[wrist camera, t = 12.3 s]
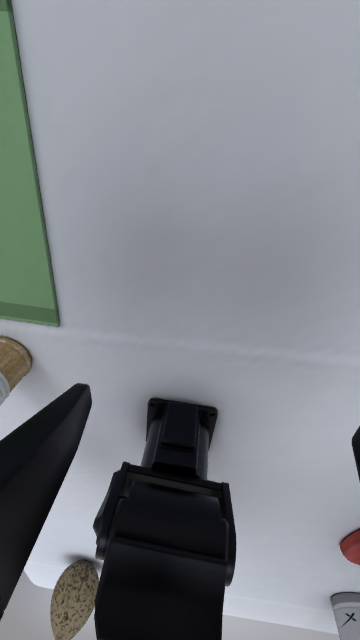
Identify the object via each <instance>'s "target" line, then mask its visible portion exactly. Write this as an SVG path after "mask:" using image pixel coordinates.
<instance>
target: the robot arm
mask: <svg viewBox="0 0 360 640" xmlns="http://www.w3.org/2000/svg"><path fill="white" fill-rule="evenodd" d="M153 403H154V404H153ZM91 405H92V398H91V392H90V386H89V385H87V384H81V383H77V384H75V385H74V386H72V387H71V388H70V389H68V390H67V391H66V392H64V393H63V394H62V395H60V396H59V397H58V398H56V399H55V400H54V401H52V402H51V403H50V404H49V405H47V406H46V407H45V408H43V409H42V410H41V411H39V412H38V413H37V414H35V415H34V416H33V417H31V418H30V419H29V420H27V421H26V422H25V423H23V424H22V425H21V426H19V427H18V428H17V429H15V430H14V431H13V432H11V433H10V434H9V435H7V436H6V437H5V438H3V439H2V440H1V441H0V620H1V618H2V616H3V614H4V610H5V609H6V607H7V605H8V602H9V600H10V598H11V595H12V593H13V591H14V589H15V587H16V585H17V582H18V580H19V578H20V576H21V573H22V571H23V569H24V567H25V565H26V562H27V560H28V558H29V556H30V554H31V551H32V549H33V547H34V545H35V543H36V540H37V538H38V536H39V534H40V531H41V529H42V527H43V525H44V523H45V520H46V518H47V516H48V514H49V512H50V509H51V507H52V505H53V503H54V500H55V498H56V496H57V494H58V492H59V489H60V487H61V485H62V483H63V481H64V478H65V476H66V474H67V472H68V469H69V467H70V465H71V463H72V461H73V458H74V456H75V454H76V451H77V449H78V446H79V443H80V440H81V437H82V434H83V431H84V428H85V425H86V422H87V418H88V415H89V412H90V409H91ZM216 419H217V409H216V408H213V407H208V406H201V405H195V404H188V403H182V402H176V401H169V400H163V399H156V398H151V399H150V400H149V402H148V413H147V433H146V446H145V450H144V454H143V459H142V463H141V466H137V465H132V464H130V463H128V462H123V464H122V467H121V470H118V471H117V472H114V473H113V477H112V480H111V483H110V486H109V489H108V492H107V494H106V497H105V499H104V501H103V503H102V505H101V507H100V509H99V512H98V514H97V516H96V518H95V521H94V524H93V529H94V531H95V534H96V536H97V540H96V545H97V549H96V559H100V560H104V564H103V568H102V572H101V576H100V581H99V585H98V589H97V593H96V597H95V615H94V619H95V628H96V637H97V640H221V639H222V638H221V637H222V612H223V602H224V592H225V586H227V587H228V586H230V584H231V582H232V578H233V574H234V569H235V561H236V532H235V524H234V517H233V510H232V503H231V497H230V490H229V484H228V483H224V482H222V483H218V482H213V481H208V480H207V469H208V451H209V448H210V443H211V439H212V435H213V431H214V427H215V423H216ZM352 447H353V452H354V457H355V462H356V466H357V471H358V476H359V481H360V426H359V428H358V429H357V431H356V432H355V434H354V436H353V438H352Z"/></svg>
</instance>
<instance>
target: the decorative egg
mask: <svg viewBox="0 0 360 640" xmlns="http://www.w3.org/2000/svg"><path fill="white" fill-rule="evenodd" d="M98 585H99V578H98V574H97V571H96V569H95V567H94V566H93V565H92V564H91V563H89V562H88V561H83V560H82V561H77V562H74V563H73V564H71V565H70V566H69V567H67V568H66V569H65V571H64V572H63V573H62V575H61V576H60V578H59V580H58V581H57V583H56V586H55V588H54V592H53V595H52V600H51V611H50V615H51V616H50V617H51V626H52V631H53V635H54V637H55V640H70V639H72V638H73V637H74V636H75V635H76V633H78V632H79V631H80V629H81V628H82V627H83V626H84V624H85V623H86V621H87V620H88V618H89V616H90V615H91V613H92V611H93V609H94V606H95V597H96V593H97V589H98Z"/></svg>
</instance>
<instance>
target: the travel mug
mask: <svg viewBox="0 0 360 640" xmlns="http://www.w3.org/2000/svg"><path fill="white" fill-rule="evenodd" d="M331 603H332V607H333V611H334V616H335V620H336V624H337V628H338V633H339V637H340V640H360V594H359V593H339V594H336V595H334V596H333V597H332V598H331Z"/></svg>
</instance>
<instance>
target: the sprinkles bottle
mask: <svg viewBox="0 0 360 640" xmlns="http://www.w3.org/2000/svg"><path fill="white" fill-rule="evenodd" d="M30 368H31V358H30V356H29V354H28V353H27V351H26V350H25V349H24V348H23V347H22V346H21V345H20V344H18V343H17V342H15V341H13V340H10V339H8V338H3V337H0V406H1V404H2V403H3V402H4V401H5V399H6V398H7V397H8V396H9V393H10V392H11V391H12V389H13V388H14V387H15V386H16V385H17V383H18V382H19V381H20V380H21V378H22V377H23V376H25V375H26V374H27V373H28V372H29V371H30Z"/></svg>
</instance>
